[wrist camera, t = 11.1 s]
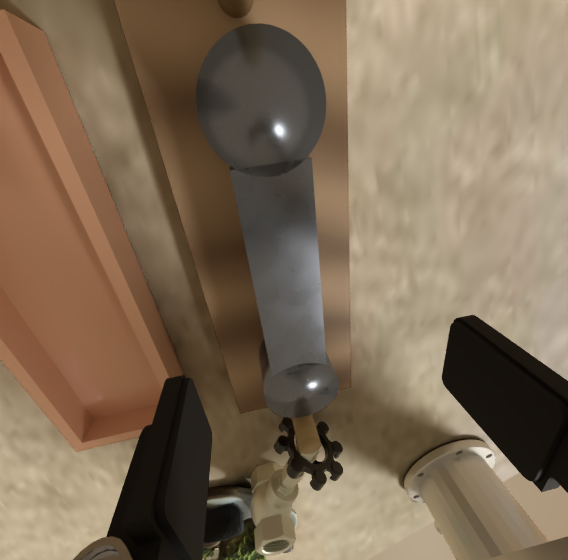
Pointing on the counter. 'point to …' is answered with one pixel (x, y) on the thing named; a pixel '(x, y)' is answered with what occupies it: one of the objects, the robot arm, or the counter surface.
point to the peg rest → (217, 179)
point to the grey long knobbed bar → (274, 198)
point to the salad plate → (231, 525)
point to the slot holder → (69, 263)
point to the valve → (287, 488)
